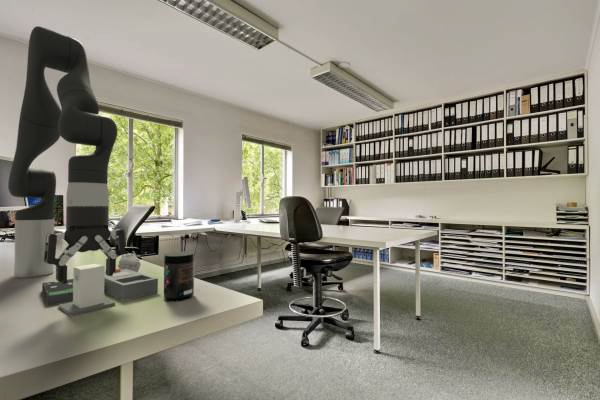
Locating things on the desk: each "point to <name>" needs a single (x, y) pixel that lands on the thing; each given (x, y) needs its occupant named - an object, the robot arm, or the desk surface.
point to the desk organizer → (129, 284)
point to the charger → (88, 285)
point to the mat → (75, 310)
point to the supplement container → (178, 276)
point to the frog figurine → (129, 262)
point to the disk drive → (57, 292)
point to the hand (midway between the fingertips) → (87, 279)
